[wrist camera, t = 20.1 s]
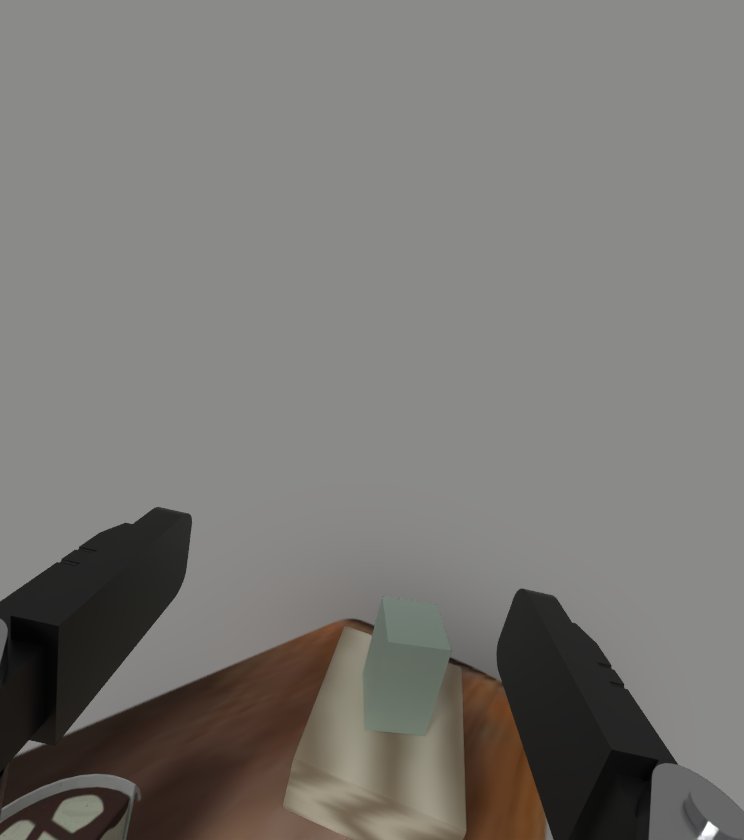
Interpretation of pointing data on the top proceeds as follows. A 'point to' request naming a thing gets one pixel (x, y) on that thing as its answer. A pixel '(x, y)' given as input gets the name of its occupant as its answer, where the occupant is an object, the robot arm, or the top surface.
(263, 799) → the top surface
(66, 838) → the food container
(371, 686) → the sage block
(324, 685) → the birch block
